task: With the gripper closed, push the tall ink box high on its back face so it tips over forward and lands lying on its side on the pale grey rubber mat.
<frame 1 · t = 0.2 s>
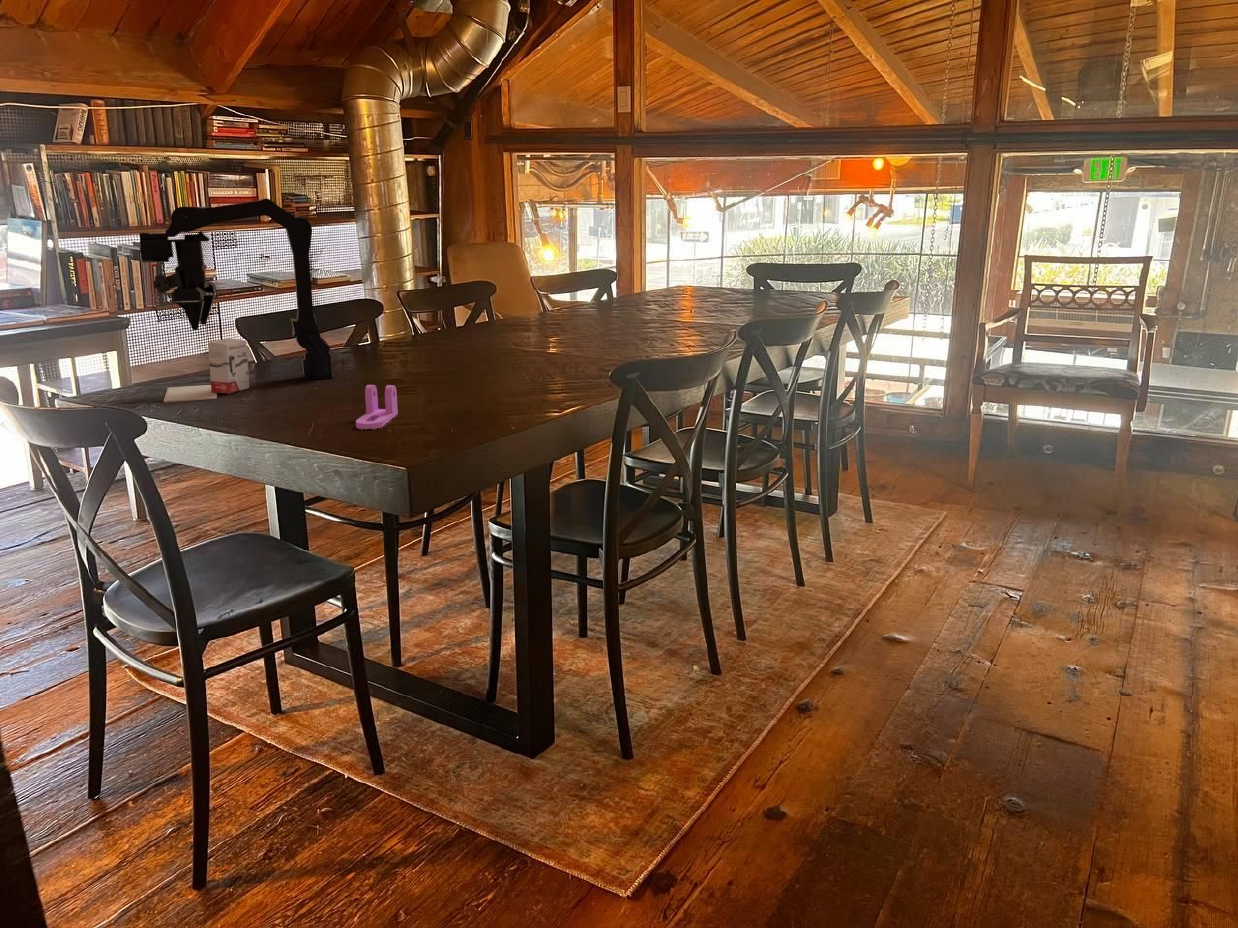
hand: (199, 327, 224), 14 cm above the table, fingers open, 9 cm apart
bracket: (376, 423, 193), on the table
mat: (191, 393, 218), on the table
ink box: (230, 391, 221), on the table, touching mat
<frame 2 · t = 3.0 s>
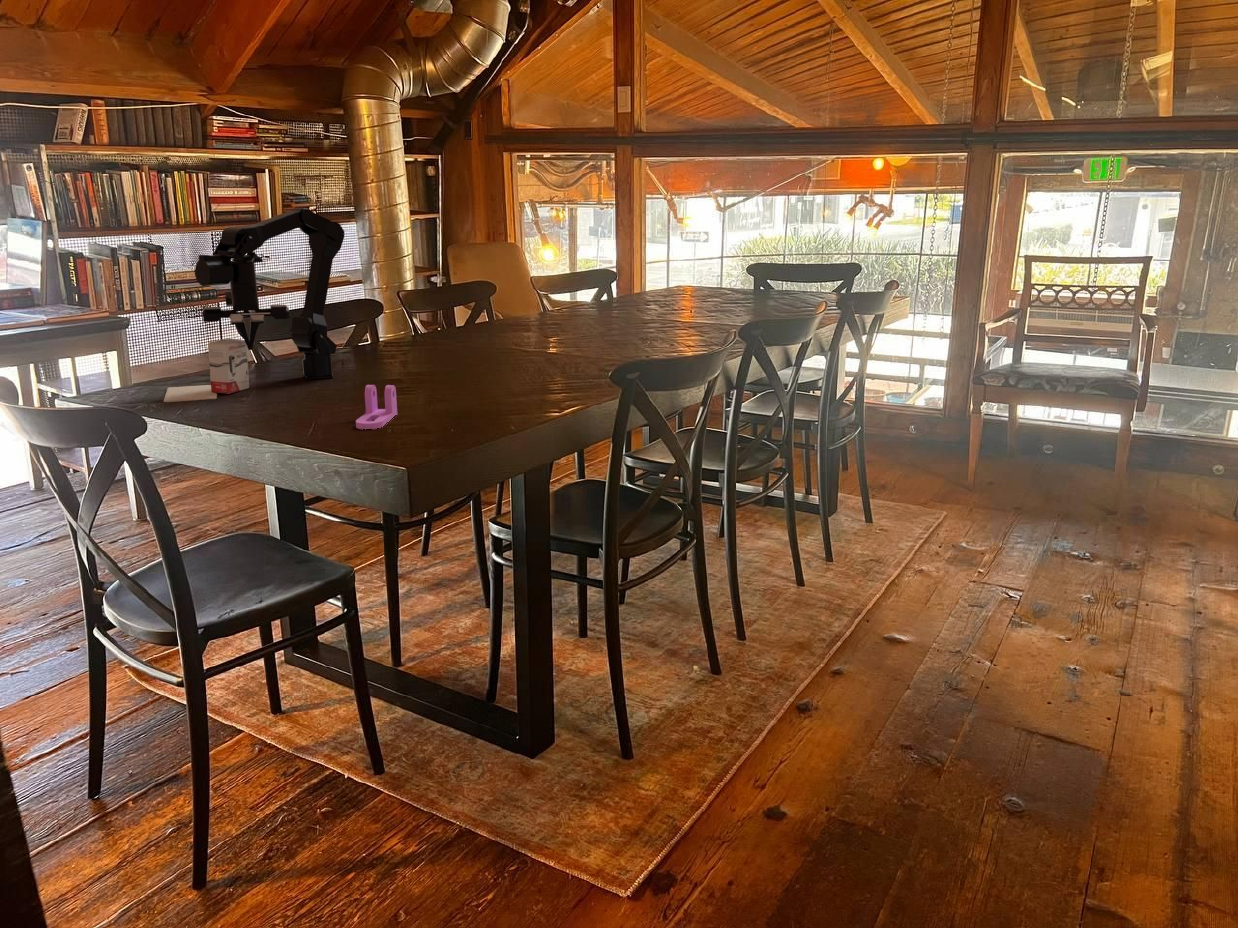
hand: (250, 349, 220), 10 cm above the table, fingers closed
ink box: (230, 391, 221), on the table, touching gripper, mat
everything else where it was.
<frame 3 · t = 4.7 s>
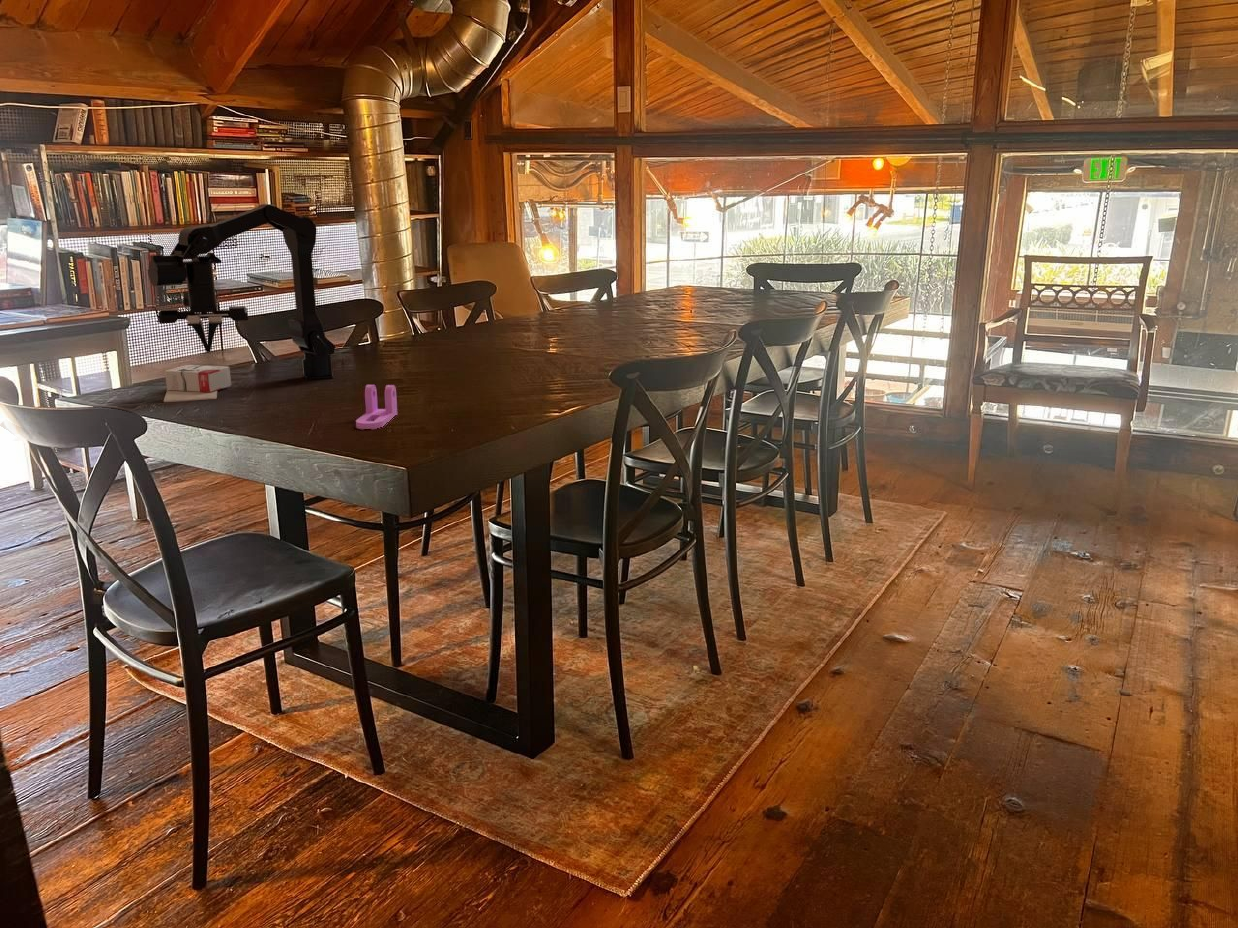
hand: (208, 351, 217), 10 cm above the table, fingers closed
ink box: (221, 379, 220), point 3 cm above the table, touching mat
everything else where it was.
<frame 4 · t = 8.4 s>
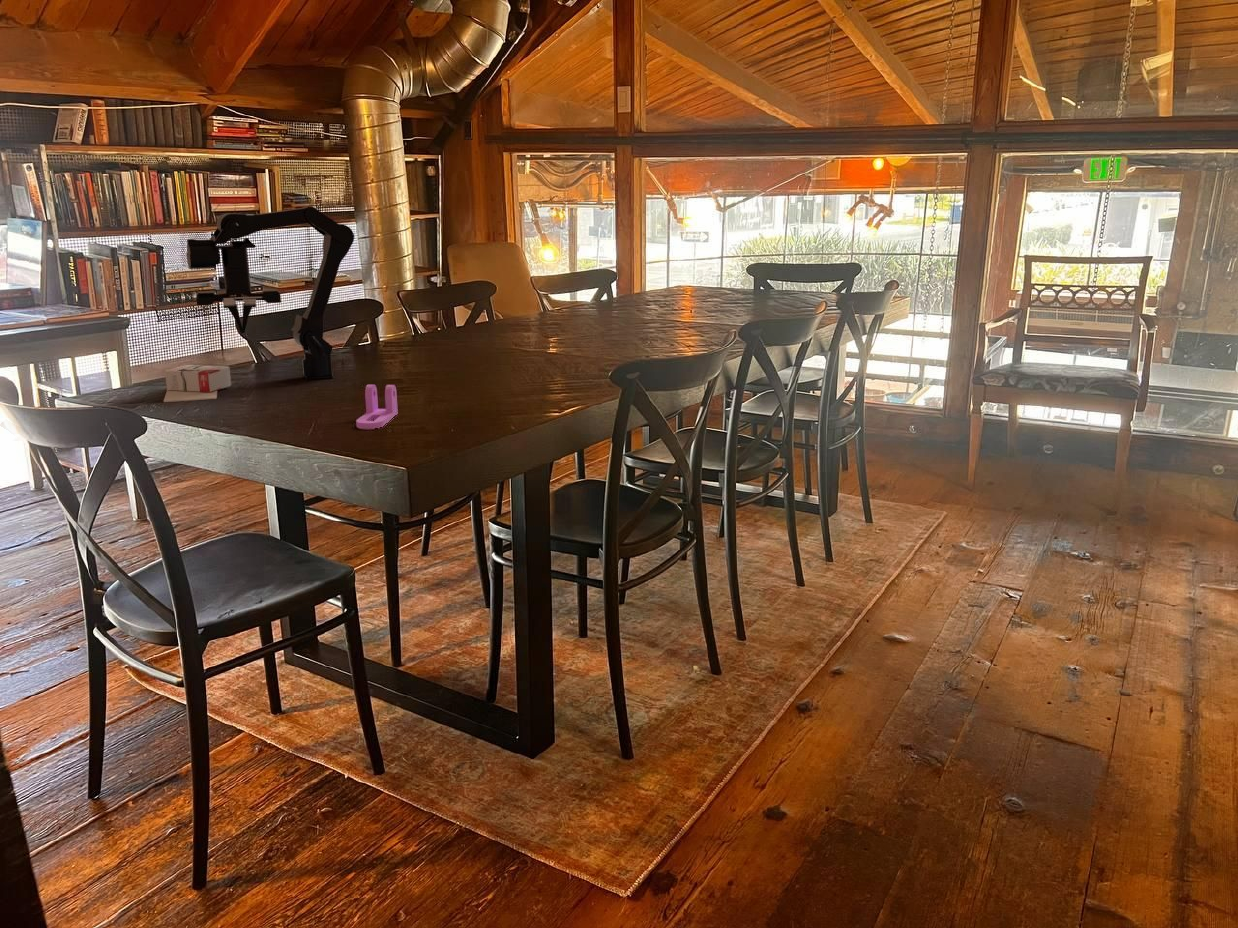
hand: (242, 333, 226), 13 cm above the table, fingers closed
nothing on the table moved.
at the end: ink box tilted 90°; ink box inside the target area (6.3 cm from its centre), point 2.7 cm above the table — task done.
